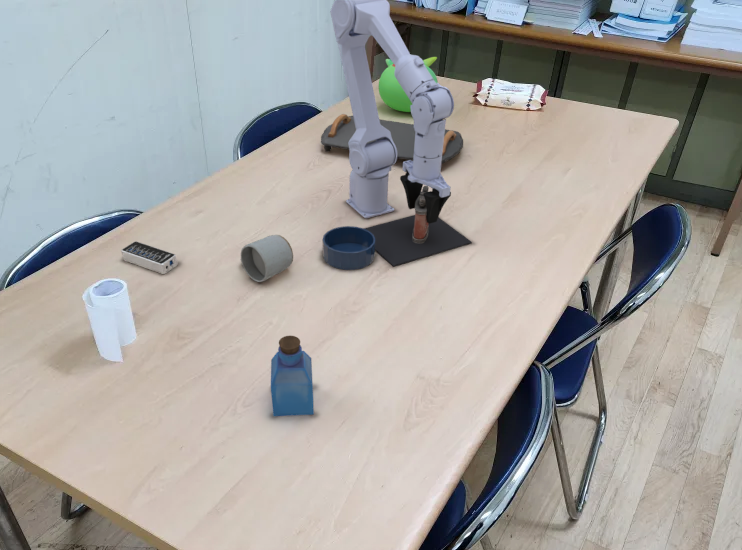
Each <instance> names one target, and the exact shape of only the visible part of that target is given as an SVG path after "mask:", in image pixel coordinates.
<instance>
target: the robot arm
mask: <svg viewBox="0 0 742 550" xmlns="http://www.w3.org/2000/svg"><path fill="white" fill-rule="evenodd" d="M331 5H332V6H331V8H330V12H329V13H330V18H331V22H332V27H333V31H334V35H335V41H336V44H337V48H338V52H339V57H340V62H341V66H342V71H343V75H344V80H345V83H346V84H345V85H346V89H347V94H348V98H349V99H348V100H349V103H350V108H351V113H352V116H353V117H354V122H355V127H356V131H355V133H354V134H353V136H352V137H351V139H350V140H349V142H348V144H349V155H348V160H349V165H350V168H351V169H352V170H351V171H350V174H349V187H348V189H349V193H348V195H349V198H348V199H346V200H345V203H346V204H348V206H350V207H351V208H352V209H353V210H354V211H356V212H357V213H358V214H359V215H360V216H362V217H363V218H364V219H369V218H373V217H377V216H382V215H385V214H388V213H393V212H395V208H394V207H393V206H391V205H390V204H389V203H388V195H389V179H390V178H389V175H390V172H391V171H392V166H394V165H395V164H396V162H397V161H398V158H397V148H396V146H395V144H394V142H393V140H392V137H391V132H390V131H389V130H388V129H386V128H385V127H383V126H382V125H381V124H380V120H381V119H380V116H379V110H378V106H377V99H376V96H375V90H374V86H373V80H372V76H371V70H370V66H369V61H368V57H367V51H366V44H367V42H368V40H369V38H370V37H371V36H372V37H373V38H374V39H375V41H376V42H377V44H378V45H379V46H380V47H381V49H382V50H383V51H384V53H385V54H386V56H387V57H388V59H391V61H392V62H393V63H394V65H395V72H394V75H395V77H396V79H397V81H398V82H399V84H400V85H401V87H402V88H403V90H404V92H405V93H406V95H407V96H408V98H409V99H410V101H411V103H412V105H411V112H410V115H411V116H412V120H413V124H414V130H415V144H414V157H413V160H405V161H403V162H402V171H403V172H404V173H405V174H403V175H400V177H399V180H400V182H401V184H402V186H403V189H404V192H405V197H406V202H407V208H408V209H409V210H414V209H415V202H416V200H417V198H418V197H419V195H420V192H422V189H423V187H424V186H428V187H429V188H430V189H431V190H430V191H428V192H426V193H424V194H423V195H424V198H425V201H426V207H427V223H429V224H430V223H434V222H437V219H438V217H439V218H440V213H441V211H442V209H443V208H444V206H445V204H446V202H447V201H448V200H449V199H450V198H451V196H452V192H451V189H452V186H450V185H449V184H448V183H447V181H446V180H445V178H444V176H443V175H442V173H441V172H442V171H441V169H442V166H441V165H442V163H441V161H442V152H443V143H444V134H445V129H446V123H447V118H449V117H450V116H452V114H453V112H454V109H455V108H454V107H455V101H454V97H453V95H452V93H451V90H450V89H449V87H446V86H443V85H441V84H440V83H439V82H438V83H436V82H435V81H434V79H433V77H432V76H431V74H430V73H429V71H428V70H427V68H426V67H425V65H424V62H423V60H424V59H423V58H421V57H420V56H419V55H416V54H410V53H411V52H410V51H409V49H408V47H407V46H406V44H405V42H404V40H403V39H402V37H401V34H400V33H399V31H398V29H397V27H396V25H395V24H394V22H393V19H392V18H391V16H390V13H391V5H390V2H389V1H388V0H333V3H332V4H331ZM379 119H380V120H379ZM375 139H376V141H373V142H370V143H367V142H369V141H372V140H375ZM366 143H367V144H366Z"/></svg>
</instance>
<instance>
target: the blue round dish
mask: <svg viewBox="0 0 742 550" xmlns="http://www.w3.org/2000/svg"><path fill="white" fill-rule="evenodd" d="M364 228H365V227H364ZM364 228H363V227H360V226H352V225H345V226H338V227H334V228H332V229H330V230H328V231H326V232H325V233H324V234H323V236H322V243H321V244H322V258H323V261H324V262H325V263H326V264H327V265H328V266H330V267H333V268H334V269H338V270H343V271H355V270H361V269H364V268H366V267H369V266H370V265H371V264H373V263H374V260H375V257H376V251H375V241H376V239H375V237H374V235H373V234H372V233H371V232H370V231H368V230H366V229H364Z"/></svg>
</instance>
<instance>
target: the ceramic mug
mask: <svg viewBox="0 0 742 550" xmlns="http://www.w3.org/2000/svg"><path fill="white" fill-rule="evenodd" d="M293 261H294V251H293V248H292V246H291V243H289V241H288V240H287V238H285V237H284V236H282V235H280V234H271V235H267V236H266V237H263V238H261V239H258V240H256V241H255V240H254V241H252V242H249V243H247V244H244V245H243V247H242V248H241V250H240V262H241V265H242V267H243V269H244V271H245V274H247V276H248V277H249V278H250V279H251V280H253V281H254V282H257V283H263V282H265V281H267V280H268V279H270V278H272V277H275V276H276V275H278V274H280V273H282V272H283V271H285V270H287V269H288V268H289V267H290V266H291V265H292V263H293Z"/></svg>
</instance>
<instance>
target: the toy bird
mask: <svg viewBox="0 0 742 550" xmlns="http://www.w3.org/2000/svg"><path fill="white" fill-rule="evenodd" d="M437 59H438V57H437V56H431V57H428V58H426V59H422V60H423V62H424V65H425V67H426V68H427V70H428V71H429V73H430V74H431V76H432V77H433V79H434V81H435V82H436V83H439V82H438V77H437V75H436V74H435V72H434V71H433V69H431V68H430V66H432V65H433V63H435V62H436V61H437ZM385 63H386V66H387V67H386V68H385V69H384V70H383V72H382V73H381V75H380V77H379V81H378V93H379V96H380V99H381V100H382V102H383V103H384V104H385V105H386V106H387V107H389V108H391V109H392V110H395V111H398V112H404V113H411V105H412V103H411V101H410V99H409V98H408V96H407V95H406V93H405V92H404V90H403V88H402V87H401V85H400V84H399V82H398V81H397V79H396V77H395V75H394V72H395V65H394V63H393V62H392V61H391V59H390V58H385Z"/></svg>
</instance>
